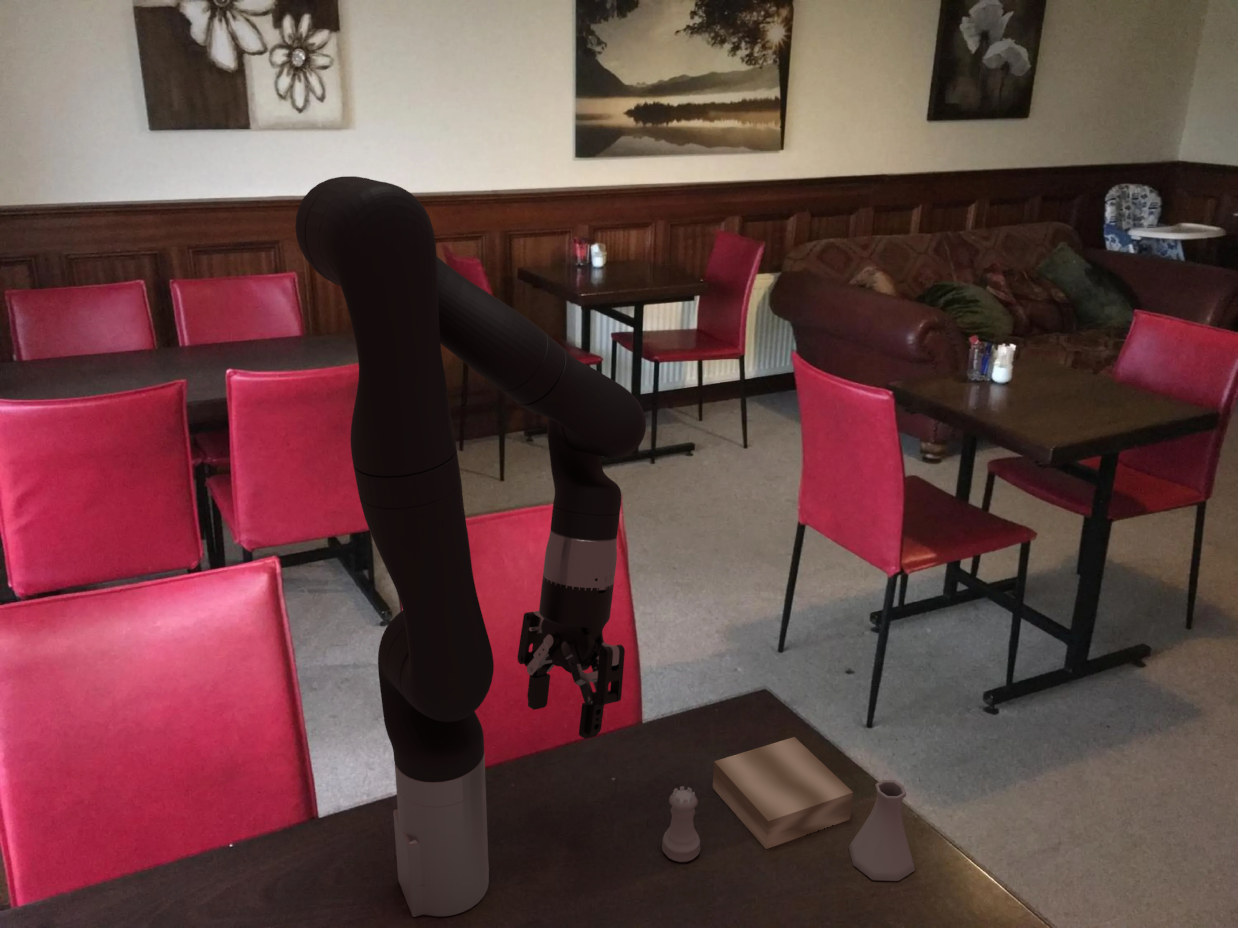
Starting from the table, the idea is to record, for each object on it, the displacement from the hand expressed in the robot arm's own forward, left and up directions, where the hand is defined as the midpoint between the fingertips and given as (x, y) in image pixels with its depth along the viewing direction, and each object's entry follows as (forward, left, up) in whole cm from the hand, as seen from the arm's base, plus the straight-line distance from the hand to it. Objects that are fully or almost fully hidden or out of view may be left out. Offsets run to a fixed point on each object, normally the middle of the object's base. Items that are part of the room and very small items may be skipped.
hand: (562, 721), depth 110 cm
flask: (+33, -16, -19) cm, 41 cm away
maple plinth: (+28, -3, -18) cm, 34 cm away
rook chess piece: (+13, -5, -19) cm, 23 cm away
